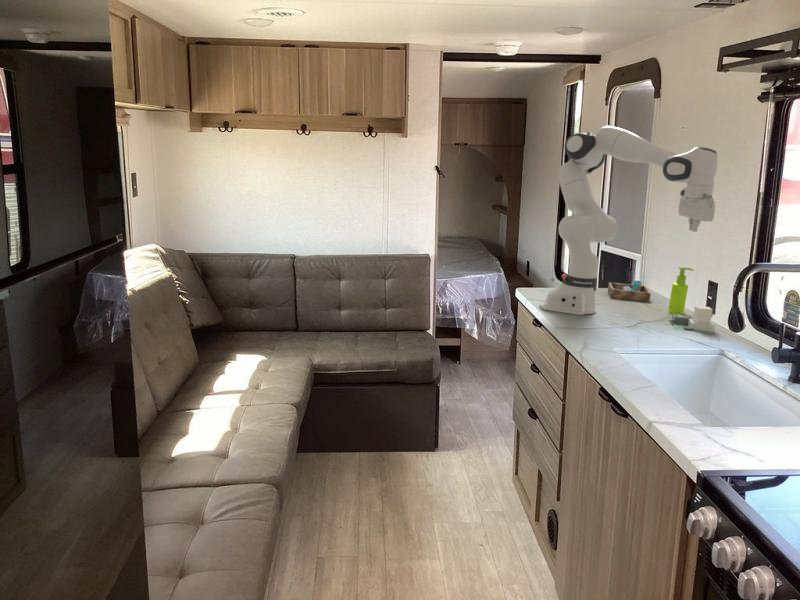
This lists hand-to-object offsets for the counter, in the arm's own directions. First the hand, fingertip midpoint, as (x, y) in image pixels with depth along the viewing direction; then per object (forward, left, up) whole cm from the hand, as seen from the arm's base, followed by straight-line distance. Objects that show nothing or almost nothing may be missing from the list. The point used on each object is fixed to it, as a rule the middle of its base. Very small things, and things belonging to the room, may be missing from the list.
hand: (692, 231), depth 236 cm
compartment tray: (+5, 0, -37) cm, 37 cm away
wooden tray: (-12, +53, -37) cm, 66 cm away
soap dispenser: (+4, +23, -37) cm, 44 cm away
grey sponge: (+1, +4, -36) cm, 36 cm away
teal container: (-11, +54, -38) cm, 67 cm away
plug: (+8, -1, -36) cm, 37 cm away
